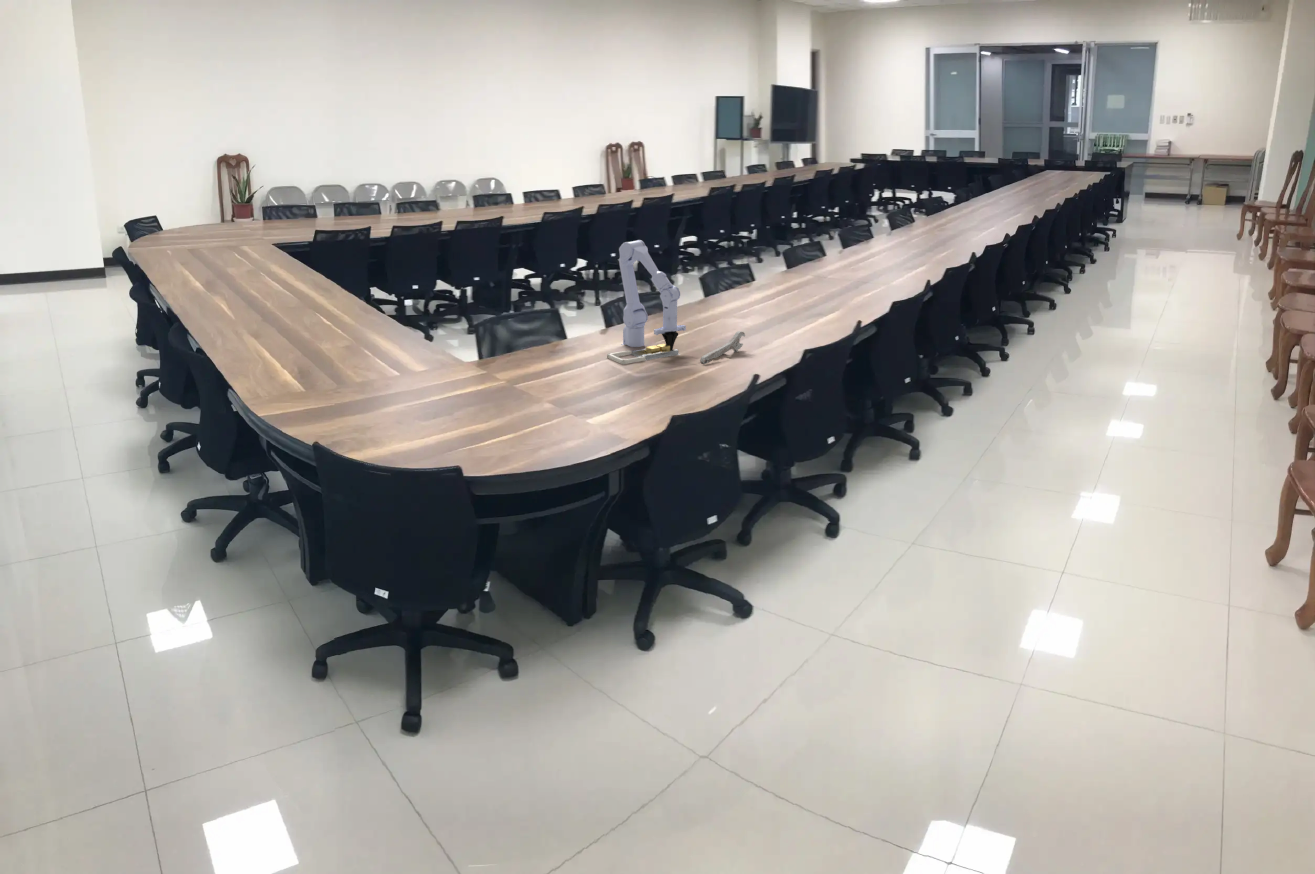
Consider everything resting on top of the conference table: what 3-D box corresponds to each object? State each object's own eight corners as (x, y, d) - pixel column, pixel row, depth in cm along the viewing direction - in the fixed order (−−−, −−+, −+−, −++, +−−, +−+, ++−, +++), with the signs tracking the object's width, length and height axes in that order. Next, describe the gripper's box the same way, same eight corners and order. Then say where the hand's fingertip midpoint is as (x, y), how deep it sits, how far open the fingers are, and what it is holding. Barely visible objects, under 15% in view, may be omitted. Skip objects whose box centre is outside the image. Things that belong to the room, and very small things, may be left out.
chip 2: (656, 352, 372) (656, 345, 371) (664, 350, 374) (664, 343, 373) (661, 354, 369) (661, 347, 368) (669, 353, 371) (669, 345, 370)
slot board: (629, 356, 370) (629, 350, 370) (664, 350, 379) (664, 344, 378) (645, 362, 361) (645, 356, 360) (680, 356, 370) (680, 350, 369)
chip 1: (646, 354, 370) (646, 346, 369) (654, 352, 372) (654, 345, 371) (651, 356, 367) (651, 349, 366) (659, 354, 369) (659, 347, 368)
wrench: (700, 370, 362) (742, 347, 382) (704, 371, 360) (745, 348, 381) (699, 351, 358) (741, 329, 379) (703, 352, 357) (745, 329, 378)
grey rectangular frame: (607, 360, 365) (607, 354, 364) (629, 356, 370) (629, 350, 370) (622, 366, 356) (622, 360, 355) (645, 362, 361) (645, 356, 360)
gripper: (660, 321, 362) (660, 354, 366) (690, 316, 369) (689, 349, 374) (650, 317, 367) (651, 350, 372) (680, 313, 375) (680, 345, 379)
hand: (669, 349), depth 373 cm, fingers closed
